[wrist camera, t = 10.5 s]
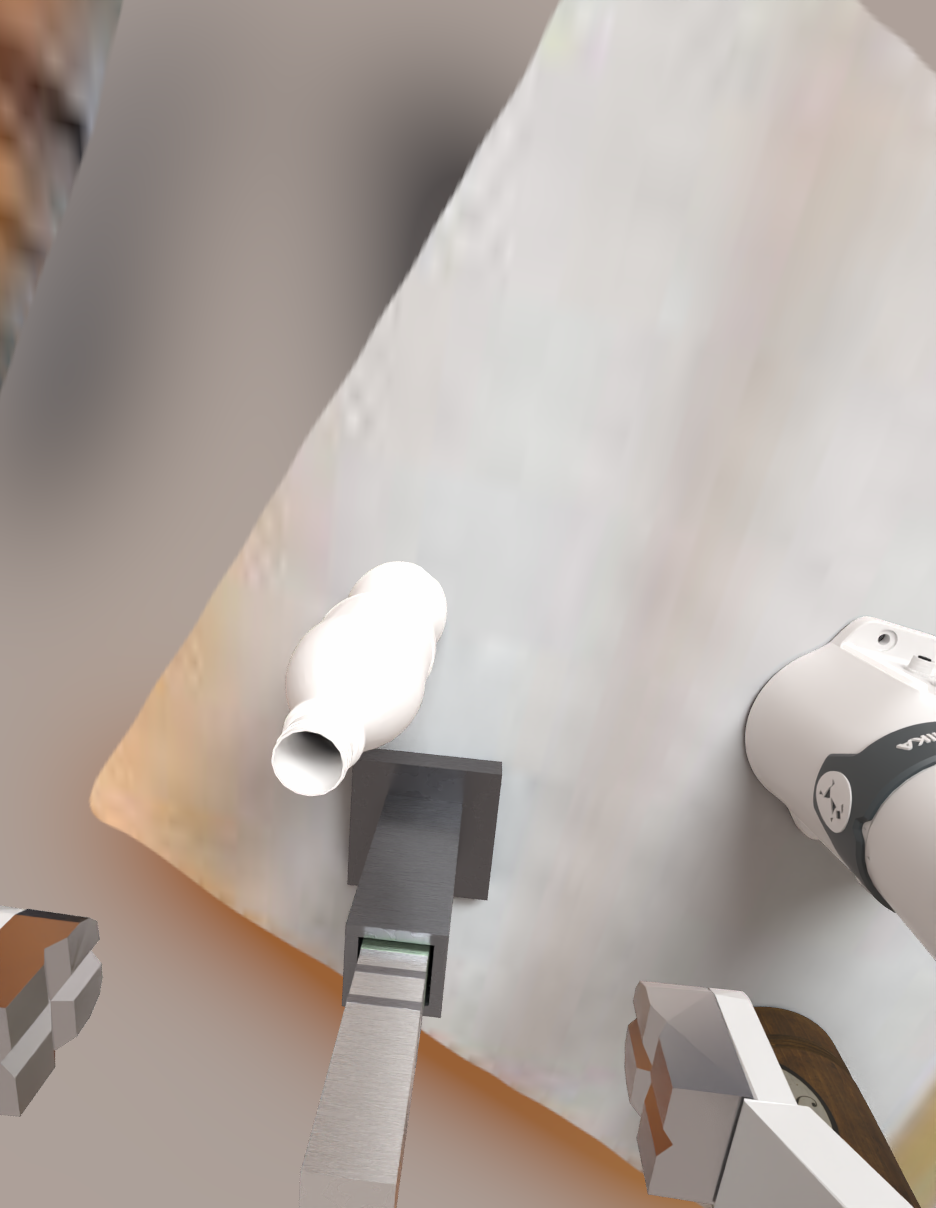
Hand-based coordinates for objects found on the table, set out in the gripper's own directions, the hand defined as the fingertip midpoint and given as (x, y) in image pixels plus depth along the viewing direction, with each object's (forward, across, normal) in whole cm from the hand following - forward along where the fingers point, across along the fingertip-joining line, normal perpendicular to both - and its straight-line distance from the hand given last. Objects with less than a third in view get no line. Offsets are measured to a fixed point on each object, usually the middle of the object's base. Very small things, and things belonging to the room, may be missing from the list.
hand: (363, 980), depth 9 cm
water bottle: (+39, +5, +5) cm, 40 cm away
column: (+31, +2, +24) cm, 39 cm away
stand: (+39, +2, +24) cm, 46 cm away
